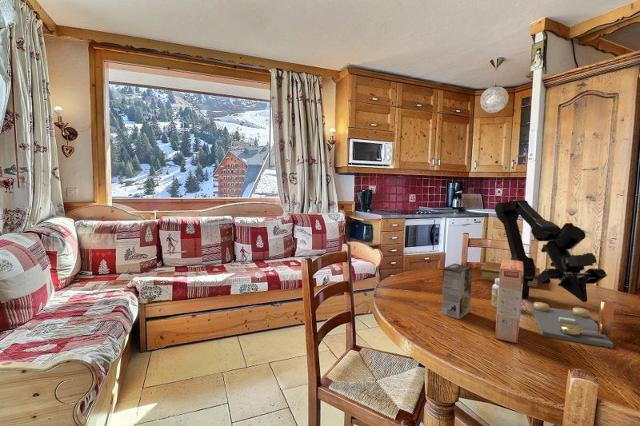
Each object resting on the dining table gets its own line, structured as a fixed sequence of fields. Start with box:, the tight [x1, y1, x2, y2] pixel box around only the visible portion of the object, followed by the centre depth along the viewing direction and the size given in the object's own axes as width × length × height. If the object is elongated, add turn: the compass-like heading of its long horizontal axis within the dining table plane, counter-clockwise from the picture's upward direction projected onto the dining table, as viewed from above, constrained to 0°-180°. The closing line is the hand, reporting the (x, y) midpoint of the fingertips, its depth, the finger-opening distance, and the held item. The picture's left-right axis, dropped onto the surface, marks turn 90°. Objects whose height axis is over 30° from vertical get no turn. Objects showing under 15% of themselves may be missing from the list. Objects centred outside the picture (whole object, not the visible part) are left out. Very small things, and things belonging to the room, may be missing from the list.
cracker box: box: [494, 259, 523, 344], centre depth 97 cm, size 14×6×21 cm, turn 148°
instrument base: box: [530, 301, 614, 349], centre depth 103 cm, size 16×24×3 cm, turn 154°
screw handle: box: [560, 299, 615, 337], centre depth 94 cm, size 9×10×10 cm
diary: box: [479, 261, 541, 290], centre depth 154 cm, size 23×19×6 cm
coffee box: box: [441, 263, 473, 320], centre depth 112 cm, size 9×6×16 cm
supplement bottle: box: [491, 278, 499, 308], centre depth 120 cm, size 5×5×10 cm
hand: (585, 301), depth 99 cm, fingers closed
